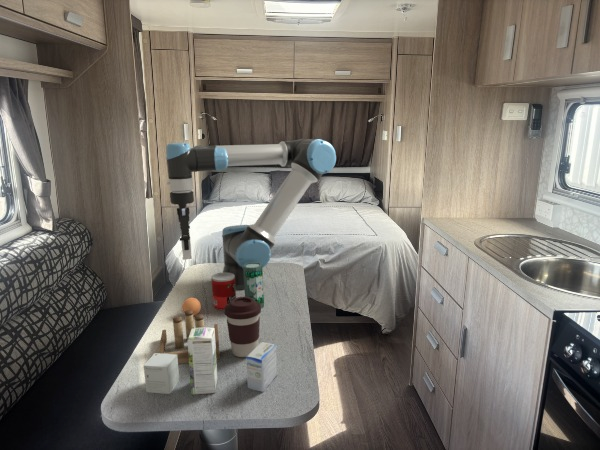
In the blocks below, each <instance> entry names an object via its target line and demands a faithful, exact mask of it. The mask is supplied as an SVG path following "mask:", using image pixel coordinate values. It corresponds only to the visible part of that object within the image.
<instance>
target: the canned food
mask: <svg viewBox="0 0 600 450" xmlns="http://www.w3.org/2000/svg"><path fill="white" fill-rule="evenodd" d="M222 272H223V271H222ZM222 272H216V273H214V274H213V275H211V288H212V289H211V292H212V302H213V303H212V304H213V307H214V309H216V310H218V311H224V308H225V306H226V305H227V304H229V303H230V301H231V300H232V299H234V298H237V296H236V295H237V294H236V293H237V292H236V288H235V275H234V274H232V273H227V272H223V273H222Z"/></svg>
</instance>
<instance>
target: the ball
mask: <svg viewBox="0 0 600 450" xmlns="http://www.w3.org/2000/svg"><path fill="white" fill-rule="evenodd" d="M181 305H182V306H181V309H182V312H183V313H184V312H185V311H186V310H192V311H193V317H195V316H196V315H199V313H200V311H201V309H202V306H201V302H200V300H198V298H195V297H188V298H186V299H185V300H184V301H183V302H182V304H181Z"/></svg>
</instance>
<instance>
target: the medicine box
mask: <svg viewBox="0 0 600 450" xmlns="http://www.w3.org/2000/svg"><path fill="white" fill-rule="evenodd" d="M245 358H246V359H245V360H246V361H245V362H246V377H247V378H246V379H247V380H246V381H247V388H248V389H250V390H253V391H258V392H260V393H262V392H265V391H266V389H267V388H268V387H269V386H270V384H271V383H272V382H273V381H274V380H275V378H276V377H277V376H278V346H277V344H273V343H270V342H263V341H260V343H258V346H257V347H256V348H255V349H254V350H253V351H252V352H251V353H250V354H249V355H248V356H247V357H245Z"/></svg>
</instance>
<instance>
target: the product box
mask: <svg viewBox="0 0 600 450" xmlns="http://www.w3.org/2000/svg"><path fill="white" fill-rule="evenodd" d="M166 353H167V352H165V353H163V354H160V353H158V352H156V353H155V352H154V353H153V354H152V355H151V357H149V359H148V360H147V361H146V363H145V364H144V365H143V370H144V371H143V373H144V380H145V391H146V393H153V394H166V395H170V394H171V393H172V392H173V391H174V389H175V387H176V386H177V384H178V382H179V381H180V374H179V373H180V371H179V369H180V368H179V364H178V357H177V354H166Z"/></svg>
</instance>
